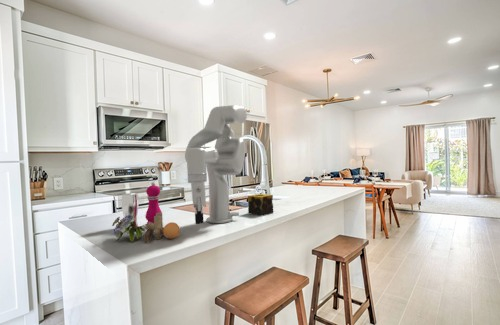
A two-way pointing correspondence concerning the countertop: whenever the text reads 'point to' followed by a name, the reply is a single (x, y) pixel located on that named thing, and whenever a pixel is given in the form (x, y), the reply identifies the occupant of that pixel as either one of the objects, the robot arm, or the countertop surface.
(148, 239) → the wall
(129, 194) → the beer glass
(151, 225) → the front pin
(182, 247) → the countertop surface
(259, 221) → the countertop surface
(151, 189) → the pepper mill
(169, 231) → the ball
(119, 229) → the passion flower
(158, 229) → the back pin left
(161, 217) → the back pin right
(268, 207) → the dark textured cube
